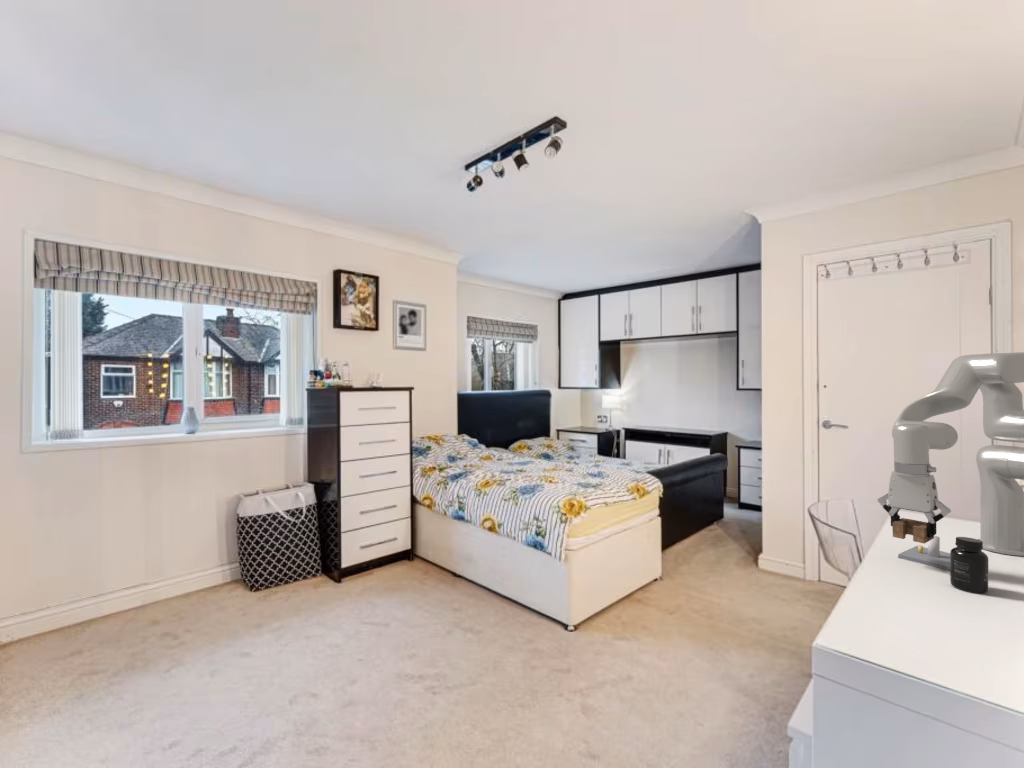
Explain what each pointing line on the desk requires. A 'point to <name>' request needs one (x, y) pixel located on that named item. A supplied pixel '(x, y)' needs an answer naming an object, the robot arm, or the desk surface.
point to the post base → (925, 557)
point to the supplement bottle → (969, 566)
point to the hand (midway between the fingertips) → (913, 532)
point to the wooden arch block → (911, 530)
